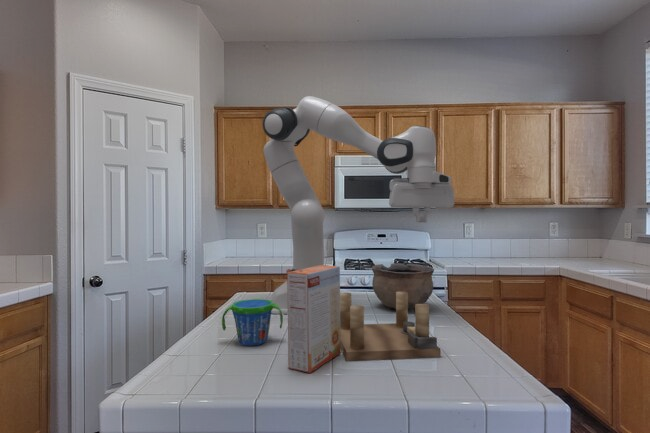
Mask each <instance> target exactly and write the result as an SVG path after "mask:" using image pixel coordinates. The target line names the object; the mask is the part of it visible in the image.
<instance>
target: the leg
mask: <svg viewBox="0 0 650 433" xmlns="http://www.w3.org/2000/svg"><path fill="white" fill-rule="evenodd" d="M414 309H415V310H414V311H415V312H414V319H415V322H413V321H409V320H408V321H407V322H403V331H405V332H413V333H414V334H415V335H416V336H418V337H430V305H429V304H427V303H426V304H425V303H423V304H416V305H415V308H414Z"/></svg>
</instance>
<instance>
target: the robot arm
mask: <svg viewBox="0 0 650 433" xmlns="http://www.w3.org/2000/svg"><path fill="white" fill-rule="evenodd" d="M262 129H263V131H264V133H265V135H266V136H267V137H268V138H270V140H269V141H267V142H266V143H265V144H264V146H263V155H264V159H265V162H266V165H267V168H268V169H269V172H270V175H271V176H272V179H273V180H274V182H275V184H276V186H277V189H278V191H279V193H280V195H281V196H282V198H283V199H284V201H285V202H286V205H287V207H288V208H289V209H290V211H291V213H290V221H291V236H292V237H291V238H292V239H291V240H292V248H293V250H292V251H293V252H292V260H293V261H292V268H287V270H285V271H286V273H285V274H287V273H288V272H291V271H296V270H301V269H305V268H310V267H315V266H320V265H325V259H324V258H325V256H324V255H325V249H324V248H325V247H324V220H325V211H324V208H323V206H322V205H321V202H320V199H318V196H317V194H316V193H315V191H314V188H313V187H312V184H311V183H310V181H309V179H308V176H307V175H306V172H305V171H304V168H303V167H302V165H301V163H300V160H299V159H298V156H297V155H296V153H295V149H294V148H295V147H298V146H300V145H301V143H302V141H304V140H305V139H306V137H308V135H309V134H310V131H312V132H314V133H316V134H318V135H320V136H322V137H324V138H327V139H330V140H331V141H335V142H339V143H342V144H345V145H347V146H351V147H354V148H357V149H358V150H361V151H362V152H365V153H366V154H368V155H369V156H371V157H373V158H375V159H377V160H378V161H379V162H380V164H381V165H382V166H384V168H385V170H387V171H388V172H390V173H391V174H397V175H398V174H403V173H405V172H406V174H407V175H406V177H393V179H391V180H390V181H389V186H388V188H389V189H388V190H389V191H390V192H389V198H388V199H389V200H388V204H389V206H390V208H395V209H396V208H404V209H405V208H406V209H407V208H408V209H409V208H410V209H411V208H412V213H413V214H414V216H415V219H416V220H415V221H416V223H427V222H428V216H429V215H430V213H431V212H432V210H431V209H432V208H433V209H435V208H436V209H437V208H438V209H439V208H441V209H442V208H443V209H445V208H446V209H447V208H448V209H450V208H451V209H452V208H453V207H454V206H455V192H454V188H453V186H452V185H451V183H452V182H453V181H452V180H453V179H452V177H451V176H450V175H447V174H444V173H442V172H438V171H437V166H436V160H435V159H436V157H437V141H436V135H435V132H434V131H433V130H432V129H431V128H430V127H427V126H423V125H413V126H409V128H408V129H407V130H406V131H404V132H402V133H400V134H398V135H396V136H391V137H389V138H386V139H384V140H383V139H380V138H378V137H376V136H374V135H373V134H370V133H369V132H368V131H366V130H365V129H363V127H361V126H360V124H358V123H357V121H356V120H355V119H354V118H353V116H351V114H349V113H348V112H347V111H346V110H344V109H343V108H341V107H340V106H338V105H336V104H335V103H332V102H331V101H328V100H326V99H324V98H323V99H322V98H319V97H316V96H312V95H307V96H305V97H303V98H302V99H301V100H300V101H299V102H298V104H297V106H296V107H295V108H293V109H292V107H289V106H287V107H279V108H273V109H272V110H269V111H267V113H265V115H264V117H263V119H262ZM421 208H422V209H423V212H424V214H423V216H421V215H420V213H419V211H420V209H421ZM270 301H272V302H273V303H274V304H276V305H277V306H279V308H280V309H281V311H282V314H283V315H288V295H287V280H286V281H284V282H283V283H281V285H279V286H278V287H276V288H275V290H274V291H273V293H272V296H271V300H270ZM273 314H277V315H278V314H279V315H280V312H279V310H278V309H276V308H273V309H272V311H271V315H273Z"/></svg>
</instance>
